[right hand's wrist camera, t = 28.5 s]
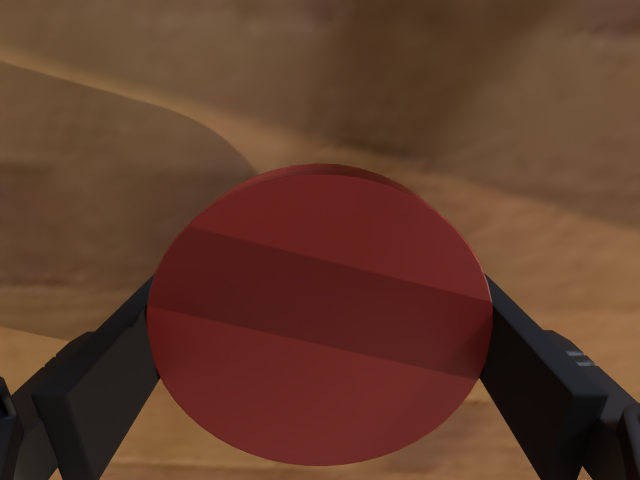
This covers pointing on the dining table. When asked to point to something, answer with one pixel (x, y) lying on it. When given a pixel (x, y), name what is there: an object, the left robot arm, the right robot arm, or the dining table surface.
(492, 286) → the right robot arm
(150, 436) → the dining table surface
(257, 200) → the lid
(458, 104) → the dining table surface
